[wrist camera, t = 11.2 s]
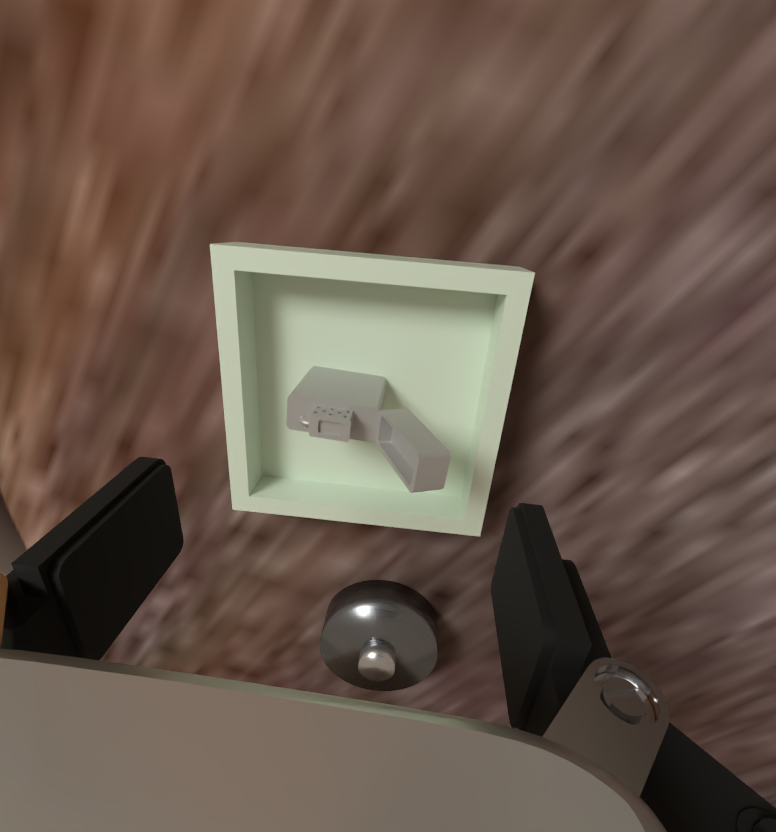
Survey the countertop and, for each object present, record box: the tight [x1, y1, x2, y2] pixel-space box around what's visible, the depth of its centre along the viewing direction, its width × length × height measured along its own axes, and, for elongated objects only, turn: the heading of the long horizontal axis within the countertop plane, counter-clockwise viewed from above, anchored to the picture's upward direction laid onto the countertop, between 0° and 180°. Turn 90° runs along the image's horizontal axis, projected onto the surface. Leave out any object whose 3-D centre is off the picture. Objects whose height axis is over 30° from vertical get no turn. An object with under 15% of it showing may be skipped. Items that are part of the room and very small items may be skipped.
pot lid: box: [320, 580, 438, 691], centre depth 30 cm, size 8×8×4 cm
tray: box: [210, 242, 535, 537], centre depth 23 cm, size 14×14×3 cm
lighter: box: [286, 366, 451, 493], centre depth 19 cm, size 7×2×8 cm, turn 82°
